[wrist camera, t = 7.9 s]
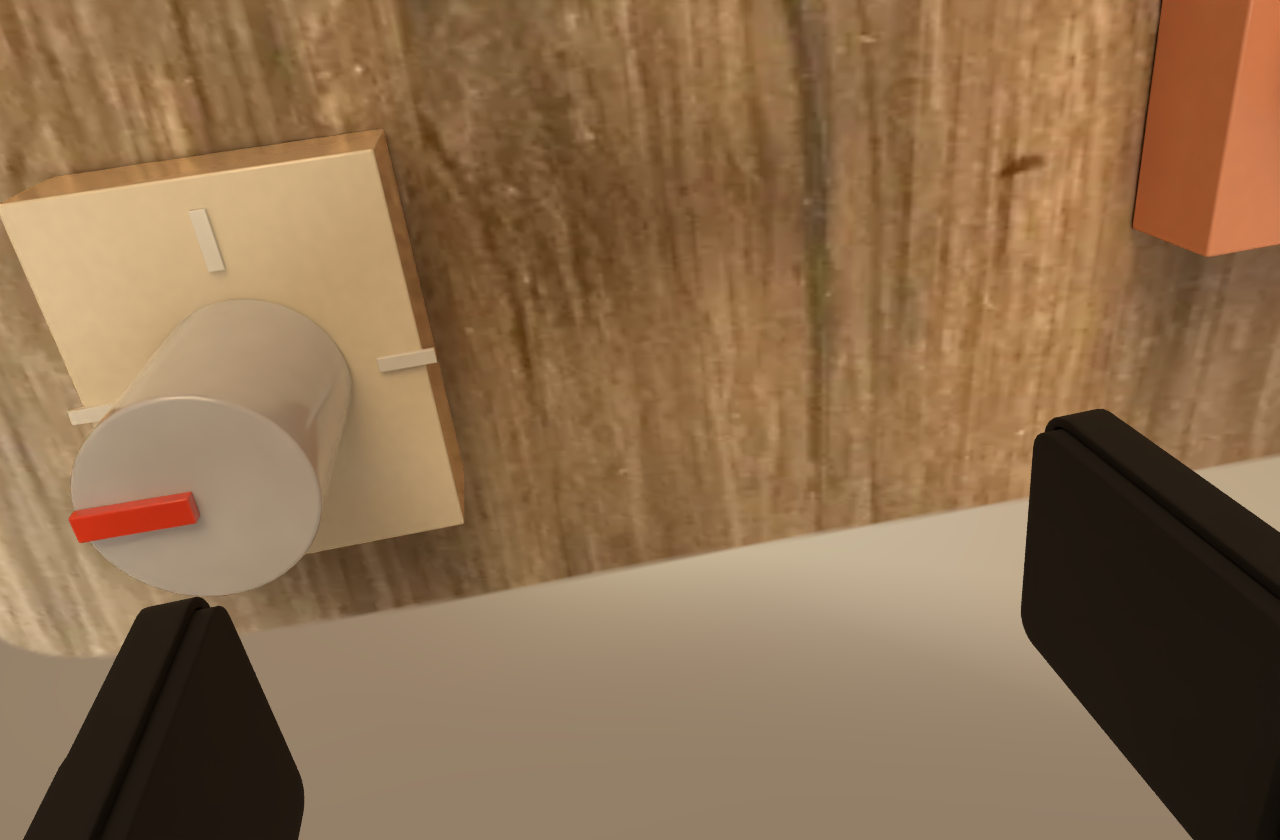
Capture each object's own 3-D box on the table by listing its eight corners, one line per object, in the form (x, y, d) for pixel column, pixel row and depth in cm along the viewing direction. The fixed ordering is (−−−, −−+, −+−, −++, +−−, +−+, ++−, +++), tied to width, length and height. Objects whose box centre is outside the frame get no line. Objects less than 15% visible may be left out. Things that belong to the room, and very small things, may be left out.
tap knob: (326, 284, 21) (283, 384, 16) (370, 449, 23) (344, 585, 18) (130, 313, 21) (21, 425, 16) (191, 479, 23) (113, 626, 18)
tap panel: (474, 469, 28) (475, 525, 25) (179, 524, 27) (146, 589, 24) (395, 126, 23) (386, 148, 20) (36, 178, 22) (-25, 209, 19)
